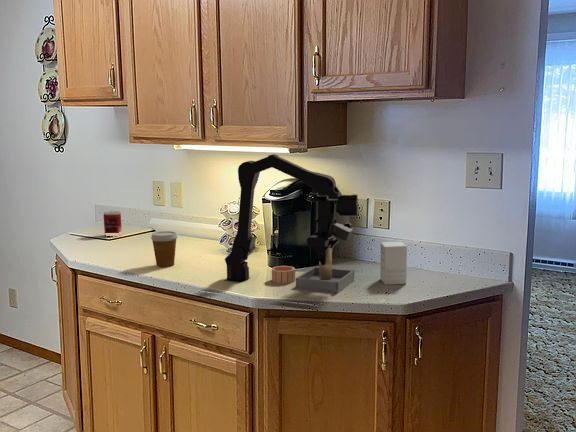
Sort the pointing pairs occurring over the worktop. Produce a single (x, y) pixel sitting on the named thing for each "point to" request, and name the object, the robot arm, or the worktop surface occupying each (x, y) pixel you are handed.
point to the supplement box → (393, 263)
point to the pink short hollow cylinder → (283, 274)
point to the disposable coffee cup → (164, 248)
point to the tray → (336, 284)
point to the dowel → (326, 267)
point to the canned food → (112, 222)
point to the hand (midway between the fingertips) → (325, 263)
